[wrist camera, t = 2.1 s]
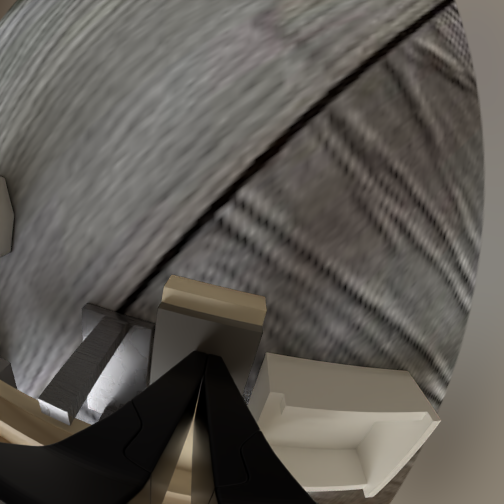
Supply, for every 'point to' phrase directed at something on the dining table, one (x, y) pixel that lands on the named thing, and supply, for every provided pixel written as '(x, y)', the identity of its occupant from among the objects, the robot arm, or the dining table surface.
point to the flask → (5, 219)
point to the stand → (101, 366)
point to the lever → (159, 363)
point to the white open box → (340, 421)
